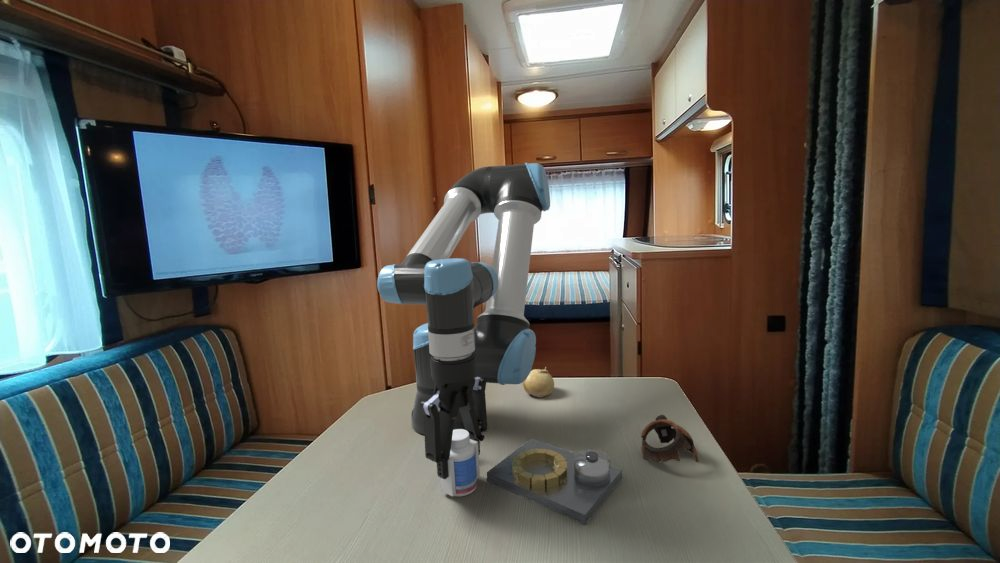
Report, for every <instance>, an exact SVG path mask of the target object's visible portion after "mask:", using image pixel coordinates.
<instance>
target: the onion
mask: <svg viewBox="0 0 1000 563" xmlns="http://www.w3.org/2000/svg"><path fill="white" fill-rule="evenodd" d="M522 387H523V389H524V390H523V391H525V392H526V394H527V395H529V396H530V397H533V396H534V397H536V398H545V397H548V396H549V395H550V394H552V392H553V391H554V389H555V381H554V378H553V376H552V375H551V374H550V373H549V370H547V366H545V367H544V369H540V368H537V369H536V368H534V369H531V371H530V374H529V375H528V377H527V379H526V380H525V381H524V382H522Z"/></svg>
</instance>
